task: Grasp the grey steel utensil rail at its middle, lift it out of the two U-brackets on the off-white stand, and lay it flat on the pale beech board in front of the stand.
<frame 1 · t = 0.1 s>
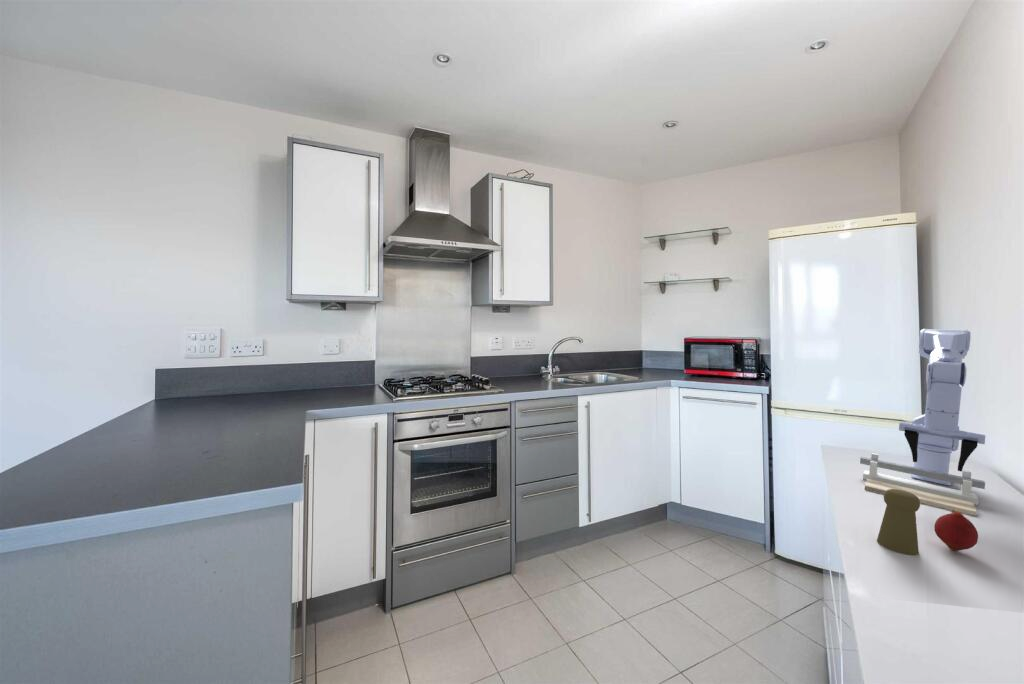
hand: (936, 465, 102), 10 cm above the table, fingers open, 7 cm apart
cork: (897, 547, 81), on the table
bracket stand: (916, 488, 113), on the table
onion: (953, 551, 81), on the table
beech board: (916, 497, 107), on the table
steel rail: (917, 474, 113), point 4 cm above the table, touching bracket stand
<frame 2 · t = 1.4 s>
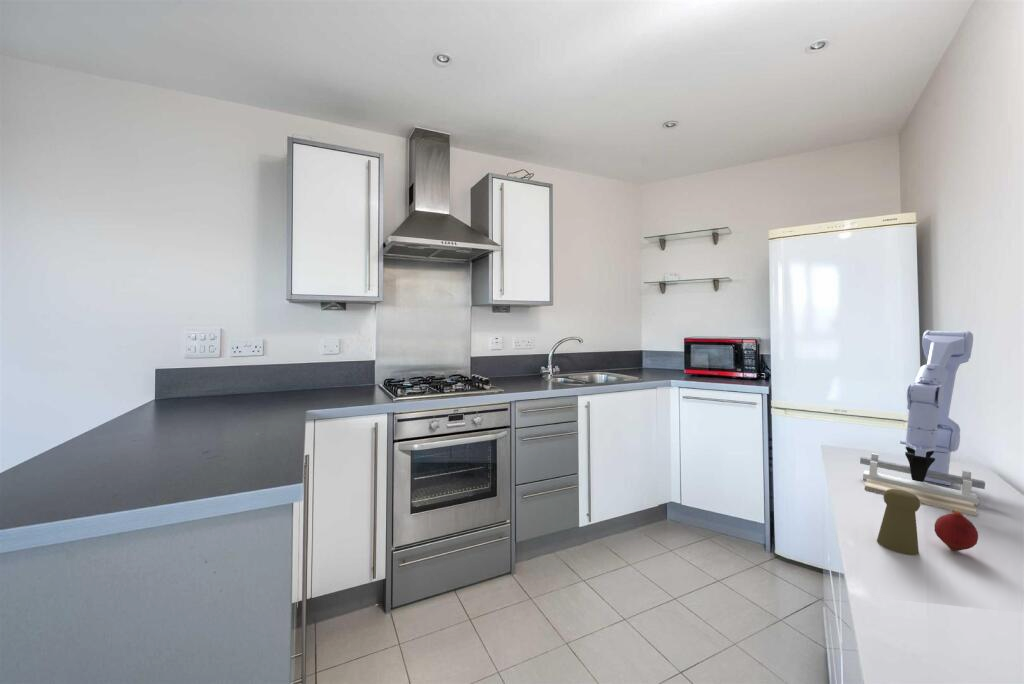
hand: (917, 477, 113), 3 cm above the table, fingers open, 7 cm apart
nothing on the table moved.
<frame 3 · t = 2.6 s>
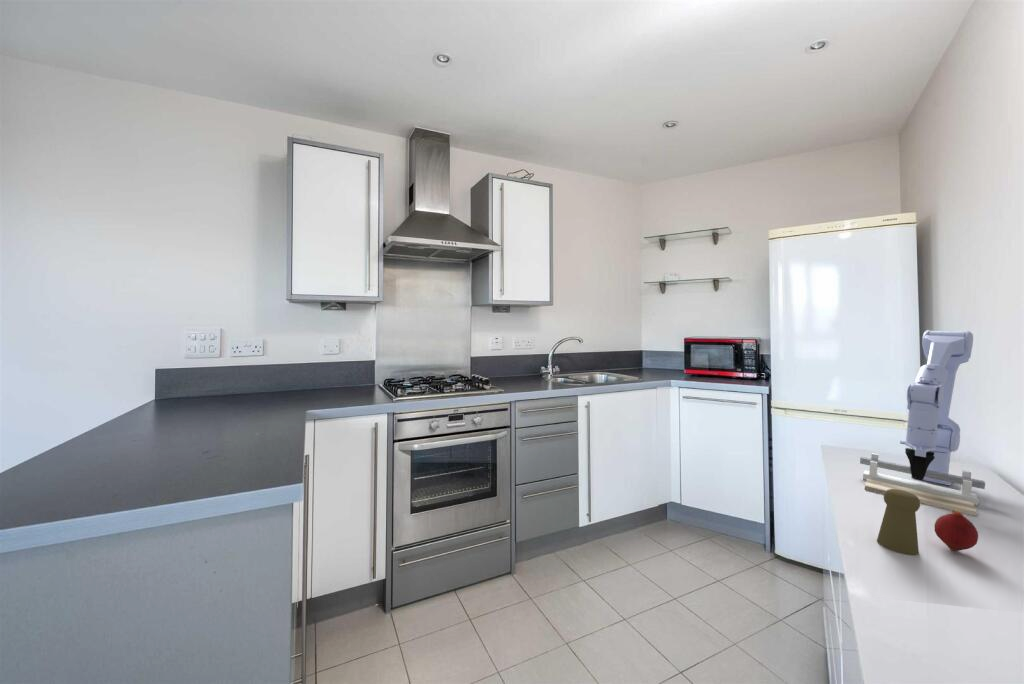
hand: (917, 477, 113), 3 cm above the table, fingers closed on steel rail, 2 cm apart
steel rail: (917, 474, 113), point 4 cm above the table, touching bracket stand, gripper
everything else where it was.
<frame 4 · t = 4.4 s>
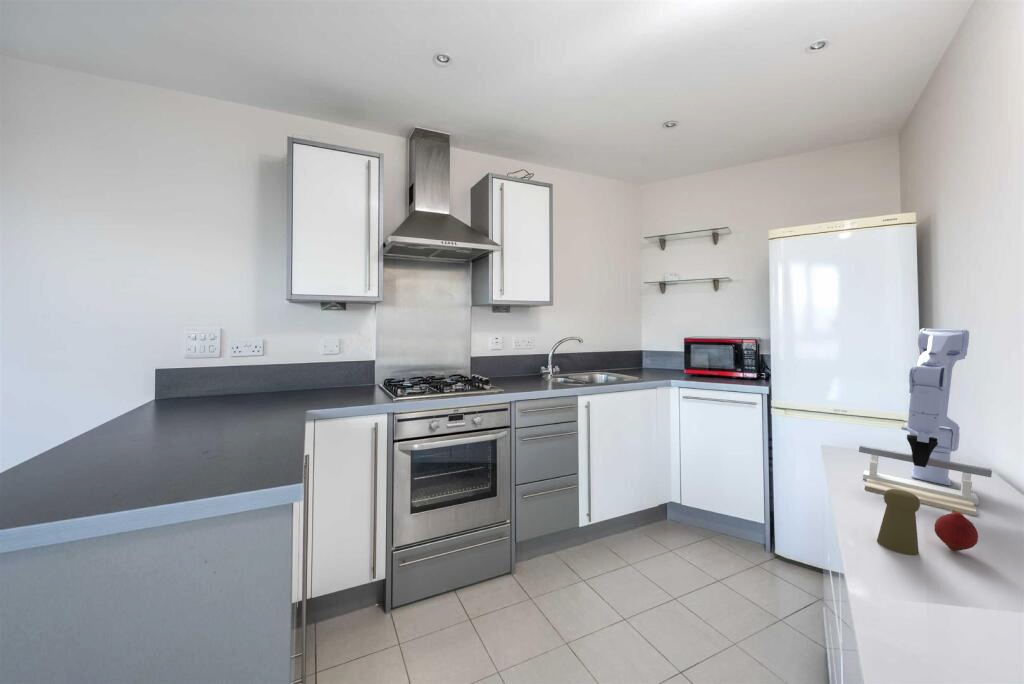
hand: (919, 465, 107), 8 cm above the table, fingers closed on steel rail
steel rail: (919, 462, 107), point 9 cm above the table, touching gripper
everything else where it was.
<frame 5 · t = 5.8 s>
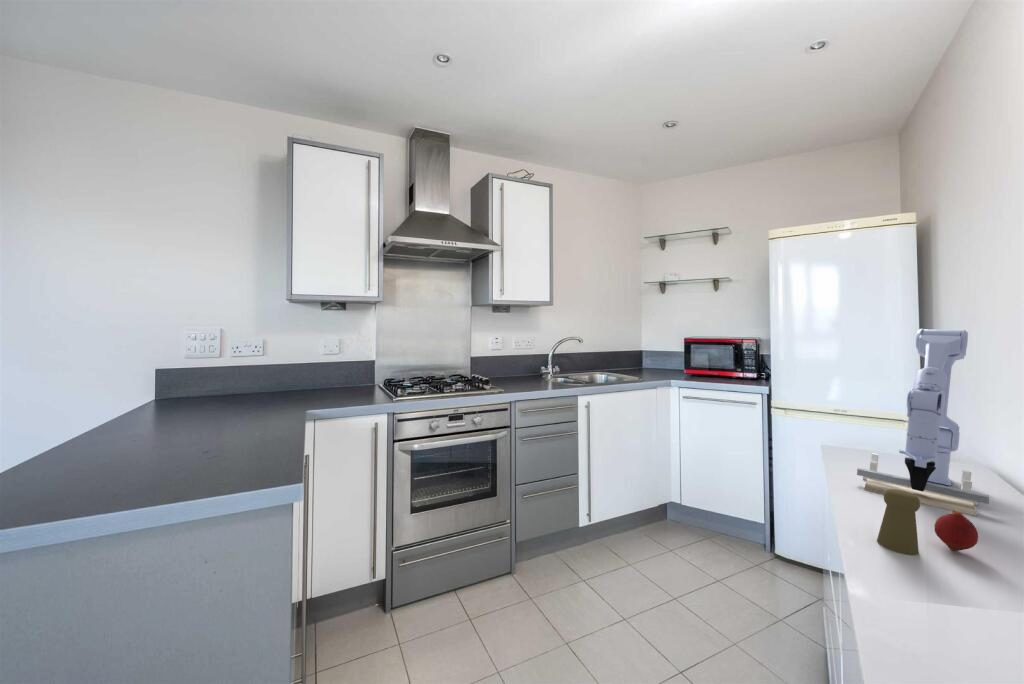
hand: (917, 488, 107), 2 cm above the table, fingers closed on steel rail, 2 cm apart
steel rail: (917, 487, 107), point 3 cm above the table, touching gripper
everything else where it was.
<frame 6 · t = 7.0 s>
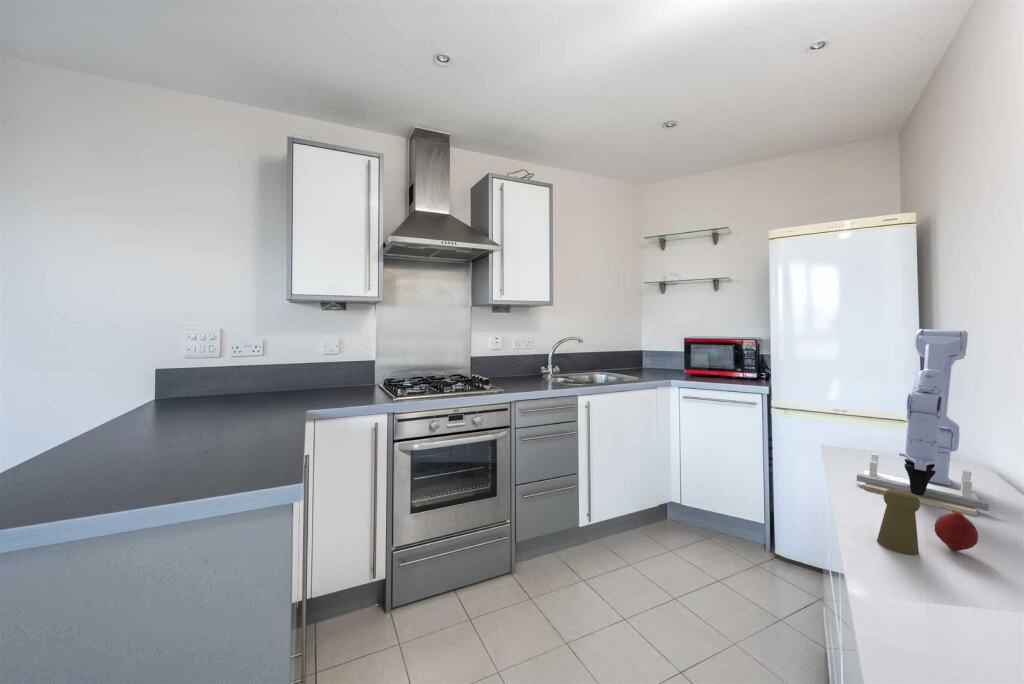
hand: (917, 491, 107), 2 cm above the table, fingers open, 5 cm apart
steel rail: (917, 493, 107), point 1 cm above the table, touching beech board
everything else where it was.
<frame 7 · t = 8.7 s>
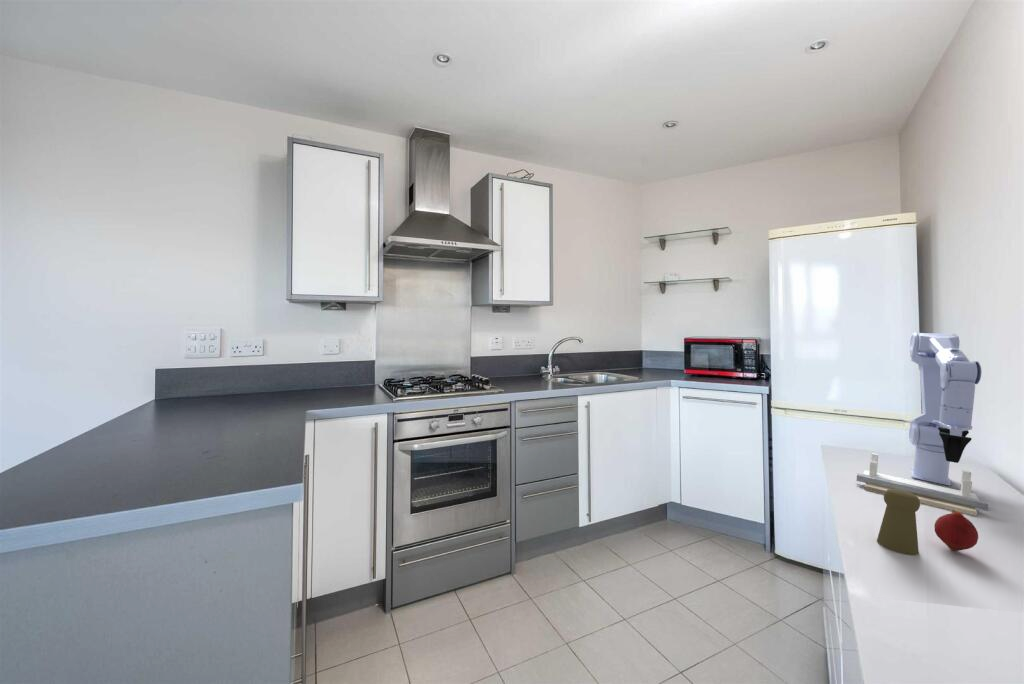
hand: (951, 458, 108), 10 cm above the table, fingers open, 7 cm apart
nothing on the table moved.
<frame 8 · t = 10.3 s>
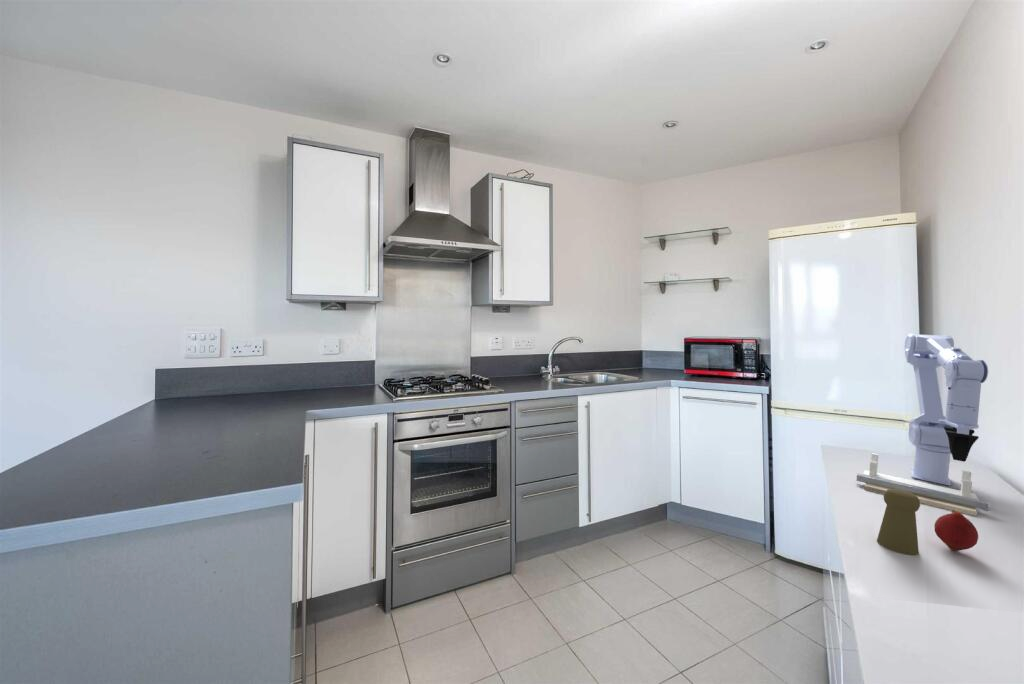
hand: (957, 457, 108), 10 cm above the table, fingers open, 7 cm apart
nothing on the table moved.
at the end: steel rail 0.0 cm from the target spot, point 1.0 cm above the table; the gripper is holding nothing; steel rail tilted 0° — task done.
